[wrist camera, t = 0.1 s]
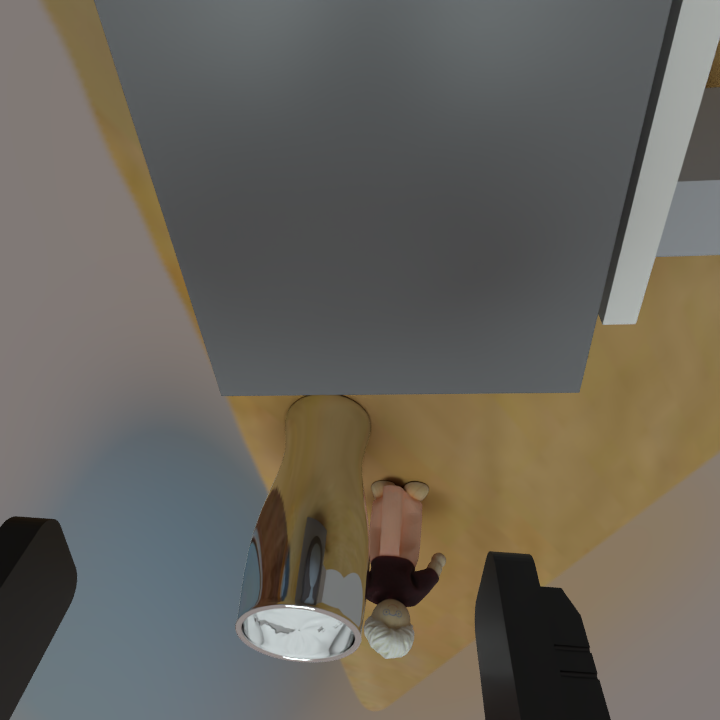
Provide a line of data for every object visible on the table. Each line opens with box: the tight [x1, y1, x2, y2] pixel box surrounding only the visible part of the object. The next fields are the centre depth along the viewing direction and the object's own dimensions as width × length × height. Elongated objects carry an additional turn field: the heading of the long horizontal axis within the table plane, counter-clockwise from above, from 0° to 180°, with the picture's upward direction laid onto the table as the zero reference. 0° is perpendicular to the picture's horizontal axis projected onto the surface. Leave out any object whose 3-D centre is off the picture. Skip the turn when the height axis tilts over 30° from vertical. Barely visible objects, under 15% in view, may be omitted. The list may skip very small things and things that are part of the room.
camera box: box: [94, 0, 672, 396], centre depth 19 cm, size 21×12×15 cm, turn 4°
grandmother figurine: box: [364, 481, 446, 659], centre depth 41 cm, size 8×4×13 cm, turn 101°
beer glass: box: [235, 395, 371, 662], centre depth 36 cm, size 7×7×15 cm
